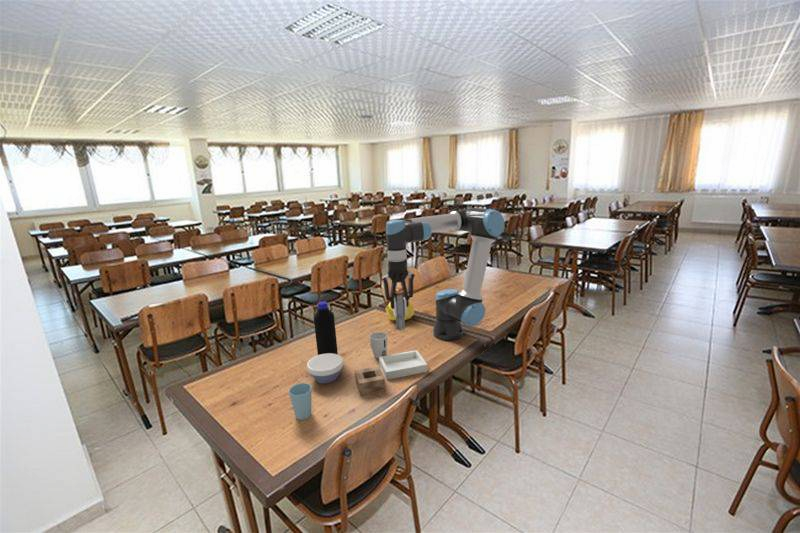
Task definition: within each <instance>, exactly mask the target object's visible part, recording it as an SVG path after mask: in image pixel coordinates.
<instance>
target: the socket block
mask: <svg viewBox="0 0 800 533" xmlns="http://www.w3.org/2000/svg"><path fill="white" fill-rule="evenodd" d="M354 375H355V376H354V378H355V379H354V380H355V384H356V387H357V390H358V393H359V396H364V395H368V394H373V393H378V392H384V391H386V380H385V379H386V377H385V375H384V373H383V371H382V368H381V366H380V365H378V366H372V367H367V368H361V369H357V370H354Z"/></svg>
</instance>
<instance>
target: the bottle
mask: <svg viewBox="0 0 800 533" xmlns="http://www.w3.org/2000/svg"><path fill="white" fill-rule="evenodd" d="M328 305H329V304H328V302H327V301H324V300H323V301H318V302H317V311H316V312H315V313H314V314H313V325H314V333H315V342H316V352H317V355H321V354H327V353H332V354H337V355H339V352H338V341H337V333H336V332H337V331H336V321H335V313H334V312H332V311H331V310H330V309H329V306H328Z"/></svg>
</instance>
